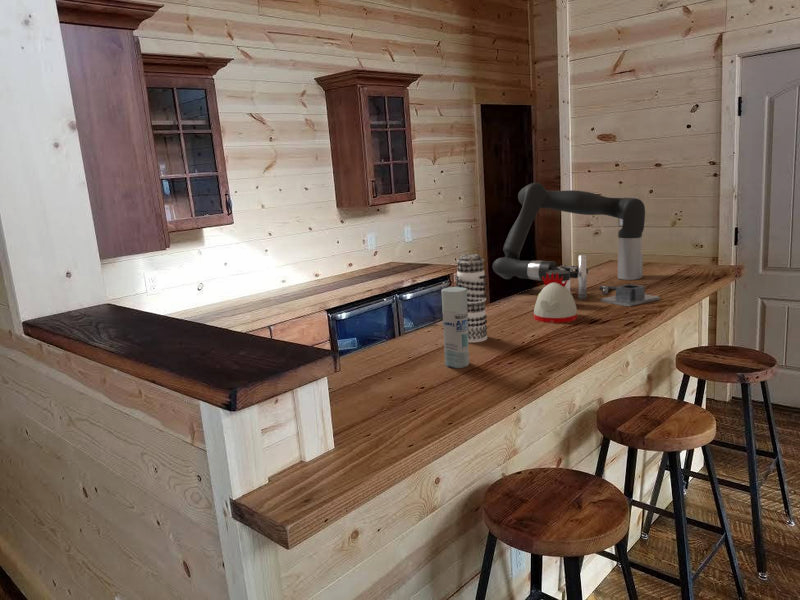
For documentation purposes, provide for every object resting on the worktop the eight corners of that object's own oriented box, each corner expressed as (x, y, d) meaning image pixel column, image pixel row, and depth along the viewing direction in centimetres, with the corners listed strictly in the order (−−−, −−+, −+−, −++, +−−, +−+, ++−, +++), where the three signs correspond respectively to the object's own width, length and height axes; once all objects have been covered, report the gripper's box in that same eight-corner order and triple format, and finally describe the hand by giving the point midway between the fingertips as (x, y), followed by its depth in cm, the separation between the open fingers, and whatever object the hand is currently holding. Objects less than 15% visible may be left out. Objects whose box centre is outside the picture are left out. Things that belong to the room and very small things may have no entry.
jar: (575, 304, 221) (575, 271, 218) (561, 309, 216) (561, 275, 213) (554, 301, 227) (554, 269, 225) (540, 305, 222) (540, 272, 220)
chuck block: (631, 294, 231) (631, 281, 230) (659, 299, 221) (659, 285, 220) (601, 301, 224) (601, 287, 223) (628, 306, 213) (628, 292, 212)
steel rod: (582, 297, 232) (582, 254, 228) (587, 298, 229) (588, 255, 226) (576, 298, 230) (576, 255, 227) (582, 299, 228) (582, 256, 225)
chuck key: (600, 289, 244) (600, 284, 244) (616, 289, 242) (616, 284, 241) (596, 294, 235) (596, 289, 235) (613, 294, 233) (613, 289, 233)
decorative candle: (479, 332, 192) (476, 252, 187) (494, 339, 184) (492, 255, 178) (452, 337, 189) (449, 255, 184) (466, 344, 180) (463, 258, 175)
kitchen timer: (541, 311, 214) (541, 268, 211) (582, 314, 207) (582, 269, 204) (527, 321, 203) (527, 275, 200) (570, 324, 196) (570, 277, 193)
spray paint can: (453, 359, 168) (450, 286, 163) (474, 362, 164) (471, 287, 159) (439, 365, 163) (436, 290, 159) (460, 369, 159) (457, 292, 154)
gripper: (533, 263, 232) (574, 266, 222) (550, 258, 243) (590, 260, 232) (533, 283, 234) (574, 286, 223) (550, 277, 244) (590, 279, 234)
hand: (582, 273), depth 228 cm, fingers open, 8 cm apart
